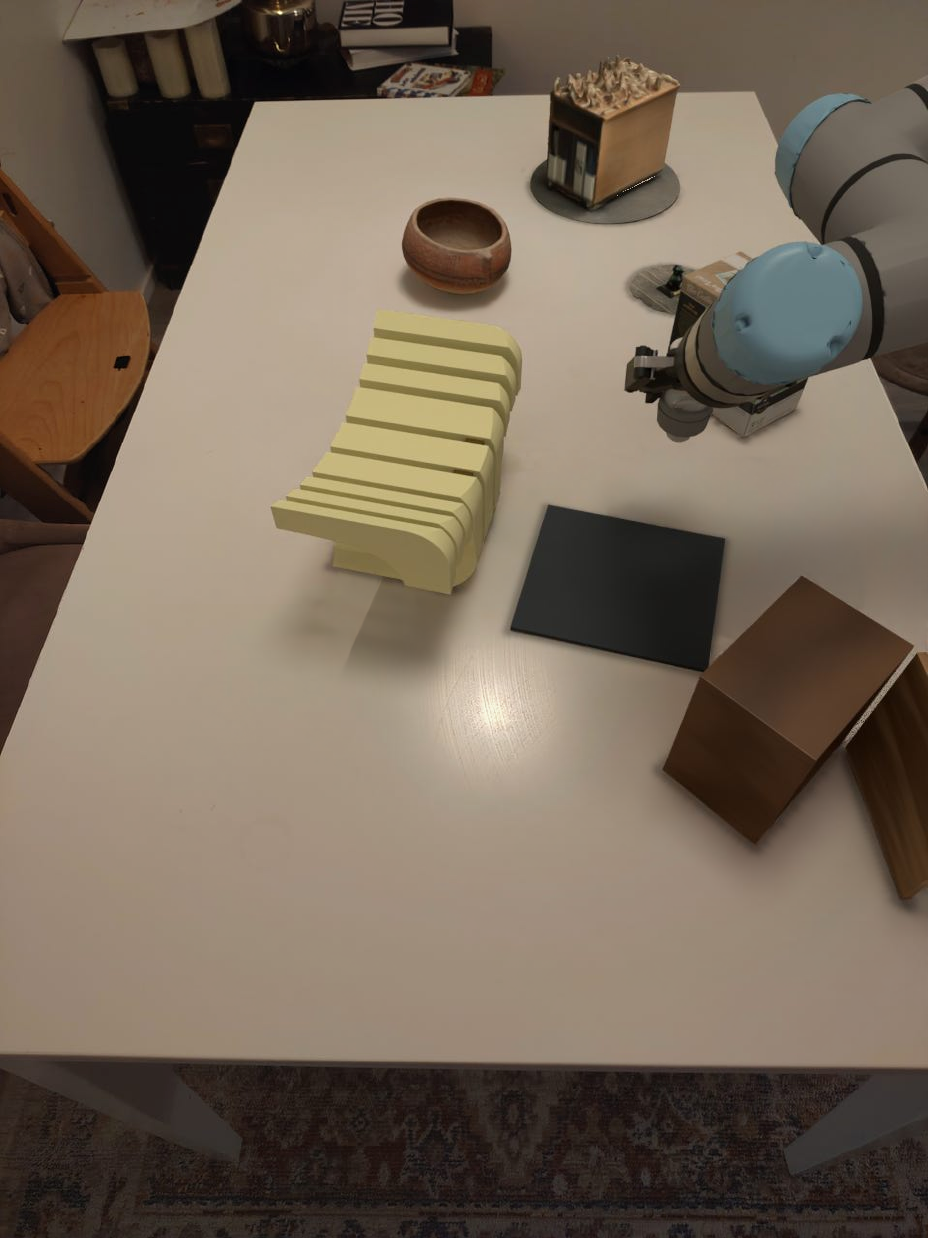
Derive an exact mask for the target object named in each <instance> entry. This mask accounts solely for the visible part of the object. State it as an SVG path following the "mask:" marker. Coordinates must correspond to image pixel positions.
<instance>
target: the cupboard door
mask: <svg viewBox="0 0 928 1238" xmlns="http://www.w3.org/2000/svg"><path fill="white" fill-rule="evenodd" d="M844 749H845V752H846V754H847V758H848V760H849V763H850V766H851V768H852V771H853V774H854V776H855V779H856V781H857V784H858V786H859V791H860V793H861V795H862V797H863V800H864V803H865V806H866V809H867V811H868V814H869V816H870V819H871V822H872V825H873V827H874V830H875V832H876V833H875V834H876V835H877V838H878V841H879V844H880V846H881V848H882V852H883V854H884V857H885V859H886V862H887V866H888V868H889V870H890V873H891V875H892V879H893V881H894V884H895V886H896V889H897V892H898V895H899V897H900V899H901V900H910V899H912V898H913V897H915V896H916V895H917V894H918V893H920V892H921V891H923V890H924V889H925V888H926V887H928V652H927V651H919V652H916V653H915V654H914V656H913V657H912V658H911V659H910V661H909V662H908V664H907V665H906V666H905V667H904V669H903V670H902V672H901V673H900V674H899V676H898V677H897V678H896V679H895V681H894V682H893V683H892V685H891V686H890V687H889V688H888V690H887V691H886V692H885V694H884V695H883V696H882V698H881V699H880V700H879V702H878V703H877V705H876V706H875V707H874V708H873V709H872V711H871V712H870V714H869V715H868V716H867V718H866V719H865V720H864V721H863V723H862V724H861V725H860V727H859V728H858V729H857V730H856V731H855V733H854V734H853V736H852V737H851V738H850V740H849V741H848V743H847V744H846V745H845V746H844Z"/></svg>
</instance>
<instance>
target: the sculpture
mask: <svg viewBox="0 0 928 1238" xmlns="http://www.w3.org/2000/svg"><path fill="white" fill-rule="evenodd" d="M696 270H697V269H692V268H687V267H683V266H682V265H681V264H670V265H657V266H654V267H649V268H646V269H643V270H642V271H639V272H638V273H637V274H636V275H635V276H634V277H633V278H632V280H631V281H630V285H629V289H630V291H631V293H632V296H634V297H635V298H636V299H641V300H642V302H643V303H644V304H645V305H646V306H648V307H649V308H652V310H656V311H660V312H663V313H667V314H671V315H674V314H675V313H676V309H677V304H678V299H679V295H680V290H681V286H682V281H683V276H684V275H686V274H689V273H691V272H693V271H696Z"/></svg>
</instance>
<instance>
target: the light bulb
mask: <svg viewBox="0 0 928 1238" xmlns="http://www.w3.org/2000/svg"><path fill="white" fill-rule="evenodd" d="M682 338H683V337H682ZM682 338H679V339H677V340H675V341H674V342H673V343H672V344H671V346H670V349H672V348H677V347H678V346H679V344H680V342H681V340H682ZM657 401H658V402H657V412H656V423H657V425H658V426H659V428H660V429H661V430H662V431H663V432H665V435H666V436H667V439H669V440H670V441H671V442H674V443H679V444H680V443H681V444H682V443H684V442H687V441H689V440H690V438H691V437H696V436H698V435H700V434H701V433H703V432H705V430H706V428H707V426H708V424H709V421H710V419H711V417H712V415H713V414H712V412H713V407H709V406H706V405H703V404H701V403H699V402H698V401H696V400H695V399H693V398H692V397H691V396H690V395H689V394H688V393H687V392H686V391H681V390H673V389H670V390H666V391H662V396H661V397H660V398H659V399H658V400H657Z"/></svg>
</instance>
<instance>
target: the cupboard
mask: <svg viewBox="0 0 928 1238" xmlns="http://www.w3.org/2000/svg"><path fill="white" fill-rule="evenodd" d="M914 648H915V645H914V644H912V643H911V642H909V641H908V640H906V639H904V638H903V637H901V636H899V635H898V634H897V633H895V632H893V631H892V630H890V629H888V628H887V627H886V626H884V625H882V624H880V623H879V622H877V621H876V620H874V619H872V618H871V617H870V616H868V615H866V614H864V613H863V612H861V611H860V610H858V609H857V608H855V607H854V606H852V605H850V604H849V603H847V602H845V601H844V600H842V599H840V598H839V597H838V596H837V595H834V594H833V593H831V592H829V590H827V589H825V588H823V587H822V586H820V585H818V584H817V583H815V582H813V581H812V580H810V579H809V578H808V577H806V576H804V575H800V576H799V577H798V578H797V579H796V580H795V581H794V582H793V583H792V584H790V586H789V587H788V588H787V589H786V590H785V591H784V592H783V593H782V594H781V595H780V596H779V597H778V598H777V599H776V600H775V601H774V602H773V603H772V604H771V605H770V606H769V607H768V608H767V609H766V610H764V612H763V613H762V614H761V615H760V616H758V617H757V618H756V620H755V621H754V622H753V623H751V624H750V626H749V627H748V628H747V629H746V630H744V631H743V633H741V634H740V635H739V637H737V638H736V639H735V640H734V641H733V642H732V643H731V644H730V645H729V646H728V647H727V648H726V649H725V650H724V651H723V652H722V653H721V654H720V655H718V657H717V658H716V659H715V660H714V661H713V662H712V663H711V664H709V667H708V668H707V669H706V670H705V671H704V672H701V673H700V675H699V677H698V679H697V683H696V686H695V688H694V690H693V692H692V695H691V697H690V700H689V702H688V705H687V707H686V710H685V712H684V714H683V718H682V720H681V722H680V724H679V727H678V729H677V732H676V735H675V737H674V740H673V742H672V745H671V747H670V750H669V751H668V752H669V753H668V755H667V757H666V760H665V762H664V764H663V766H662V771H663V772H664V773H665V774H667V776H669V777H670V778H671V779H673V780H674V781H676V782H677V783H678V784H679V785H680V786H681V787H683V788H684V789H686V791H688V792H689V793H690V794H691V795H692V796H694V797H695V798H696V799H698V800H699V801H700V802H701V803H703V804H704V805H705V806H706V807H707V808H709V809H710V810H711V811H712V812H713V813H715V814H716V815H717V816H718V817H719V818H721V819H722V820H723V821H725V822H726V823H727V824H728V825H729V826H731V827H732V828H733V829H735V830H736V831H737V832H738V833H739V834H740V835H742V836H743V837H744V838H745V839H747V840H748V841H749V842H751V843H752V844H753V845H754V846H756V845H757V844H758V843H759V842H760V841H761V839H762V838H763V837H764V835H766V833H767V832H768V831H769V830H770V829H771V828H772V826H773V825H774V824H775V823H776V822H777V820H778V819H779V818H780V817H781V816H782V815H783V813H784V812H785V811H786V810H787V809H788V807H789V806H790V805H791V804H792V803H793V802H794V800H795V799H796V798H797V797H798V796H799V795H800V793H801V792H802V791H803V790H804V788H805V787H806V786H807V785H809V783H810V782H811V781H812V779H813V778H814V777H815V776H816V774H817V773H819V771H820V770H821V768H822V767H823V766H824V765H825V764H826V763H827V762H828V760H829V759H830V758H831V757H832V756H833V755H834V754H835V752H836V751H837V749H839V747H840V746H841V745H842V744H843V743H844V741H845V740H846V739H847V737H848V736H849V734H850V733H851V732H852V731H853V729H854V728H855V727H856V725H857V724H858V723H859V721H860V719H861V718H862V717H863V716H864V714H865V713H866V712H867V710H868V709H869V708H870V706H872V704H873V703H874V701H875V700H876V698H877V697H878V696H879V695H880V693H881V692H882V691H883V689H884V688H885V687H886V686H887V684H888V682H889V681H890V680H891V678H892V677H893V676H894V675H895V673H896V672H897V670H898V669H899V668H900V667H901V665H902V664H903V662H904V661H905V660H906V658H907V657H908V656H909V654H910V653H911V652H912V650H913V649H914Z"/></svg>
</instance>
